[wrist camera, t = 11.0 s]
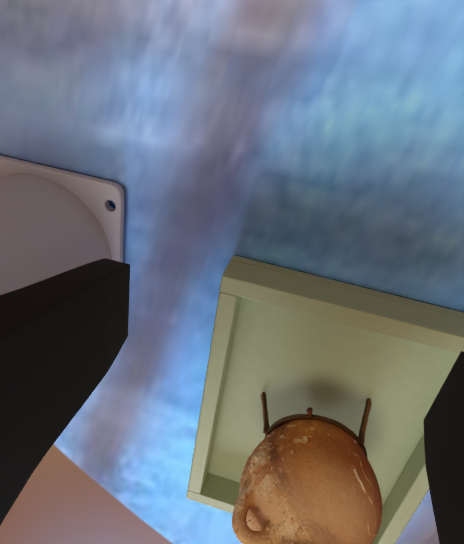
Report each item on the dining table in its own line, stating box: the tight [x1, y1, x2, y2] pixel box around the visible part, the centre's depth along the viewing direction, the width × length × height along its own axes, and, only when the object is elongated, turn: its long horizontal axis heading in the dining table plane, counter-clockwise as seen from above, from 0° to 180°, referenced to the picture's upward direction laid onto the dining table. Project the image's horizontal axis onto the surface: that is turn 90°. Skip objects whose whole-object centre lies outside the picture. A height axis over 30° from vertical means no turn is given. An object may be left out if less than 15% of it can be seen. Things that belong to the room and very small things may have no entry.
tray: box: [186, 255, 464, 544], centre depth 22 cm, size 16×12×2 cm
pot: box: [232, 392, 382, 544], centre depth 19 cm, size 6×8×6 cm
